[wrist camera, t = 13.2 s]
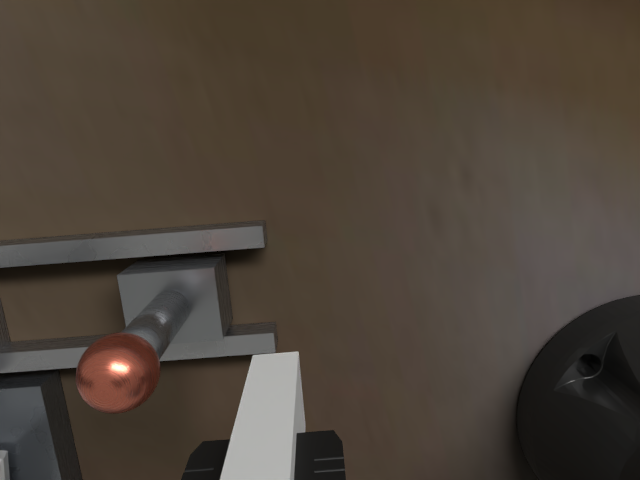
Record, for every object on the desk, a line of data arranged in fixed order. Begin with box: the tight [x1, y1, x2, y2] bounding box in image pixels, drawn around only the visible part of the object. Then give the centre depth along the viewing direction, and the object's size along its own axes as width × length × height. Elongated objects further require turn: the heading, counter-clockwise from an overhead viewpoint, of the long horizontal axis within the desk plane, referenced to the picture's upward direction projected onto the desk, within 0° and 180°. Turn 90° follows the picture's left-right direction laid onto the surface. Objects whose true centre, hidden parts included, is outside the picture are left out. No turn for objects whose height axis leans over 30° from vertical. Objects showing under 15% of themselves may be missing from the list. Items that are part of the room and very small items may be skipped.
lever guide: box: [0, 220, 278, 373], centre depth 27 cm, size 17×7×3 cm, turn 94°
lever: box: [76, 253, 233, 413], centre depth 23 cm, size 5×4×11 cm
